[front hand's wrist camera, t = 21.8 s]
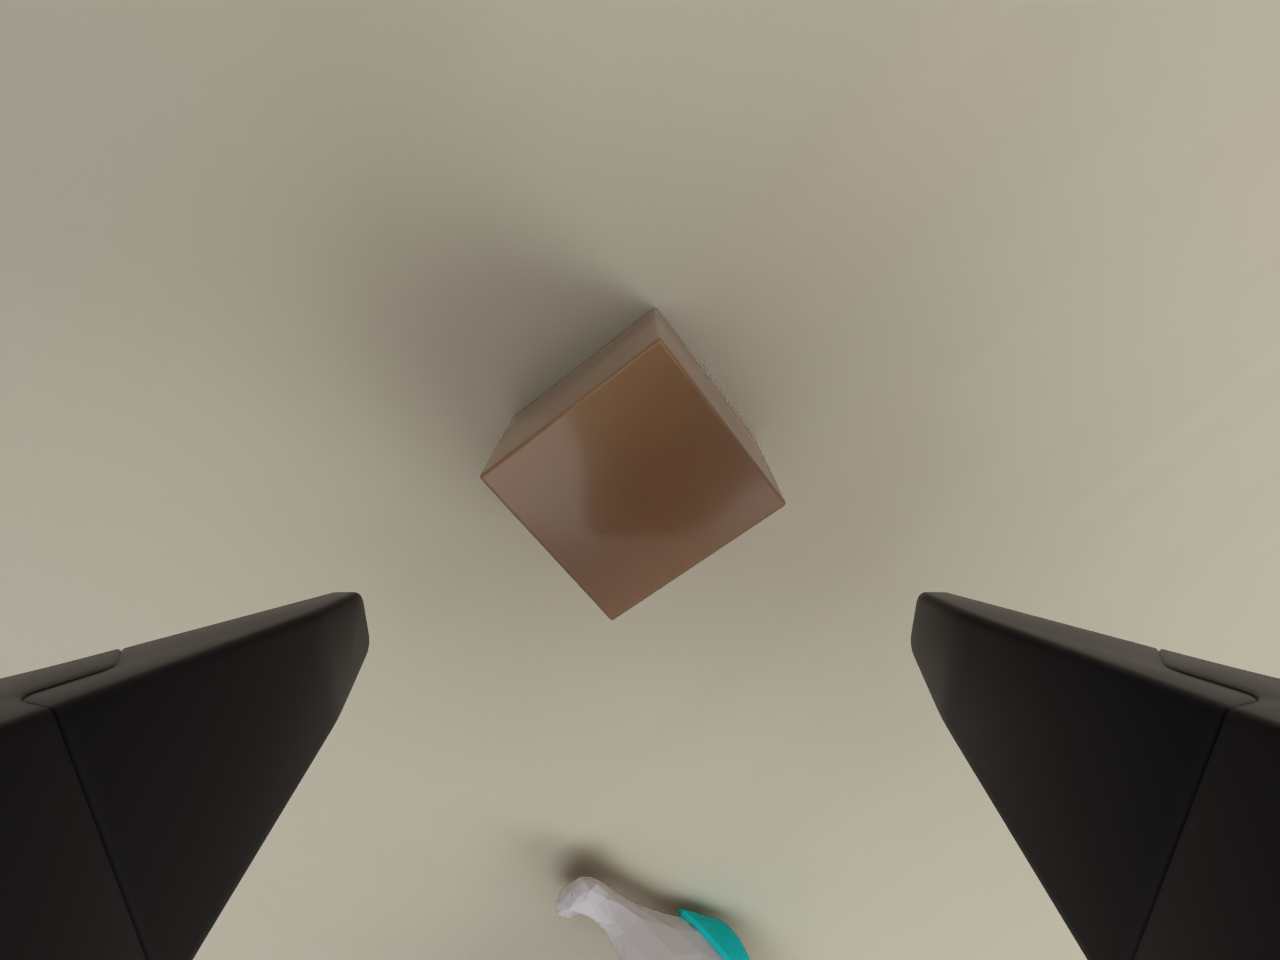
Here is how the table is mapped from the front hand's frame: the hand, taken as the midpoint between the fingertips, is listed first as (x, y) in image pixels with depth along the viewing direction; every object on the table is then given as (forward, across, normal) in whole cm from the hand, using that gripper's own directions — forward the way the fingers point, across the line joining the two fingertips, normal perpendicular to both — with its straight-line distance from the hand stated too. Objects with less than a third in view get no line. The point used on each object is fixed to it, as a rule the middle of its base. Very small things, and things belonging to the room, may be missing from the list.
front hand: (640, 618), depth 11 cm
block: (+9, 0, 0) cm, 9 cm away
